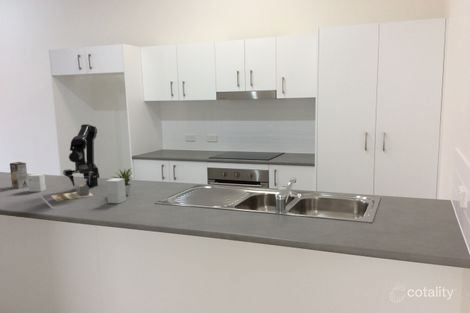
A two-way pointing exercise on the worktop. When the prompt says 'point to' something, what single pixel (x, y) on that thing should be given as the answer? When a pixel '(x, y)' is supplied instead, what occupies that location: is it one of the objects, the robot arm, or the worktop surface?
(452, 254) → the worktop surface
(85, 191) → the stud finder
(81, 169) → the robot arm
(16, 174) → the coffee box
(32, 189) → the small box
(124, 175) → the house plant
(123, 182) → the supplement box
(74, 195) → the board
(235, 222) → the worktop surface
